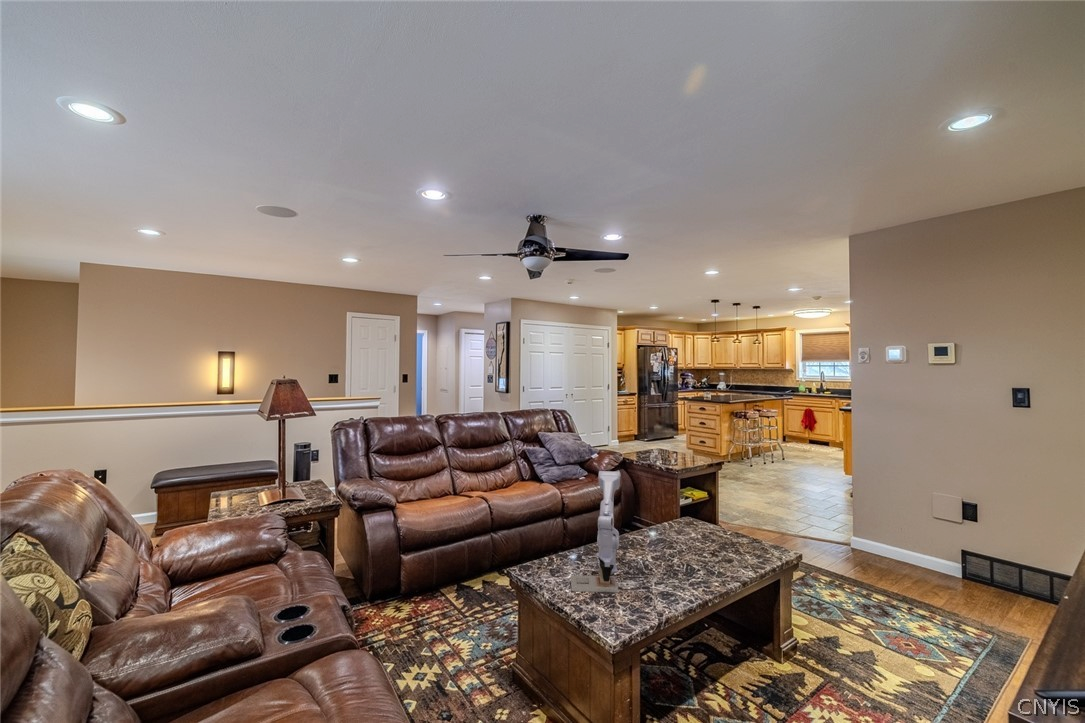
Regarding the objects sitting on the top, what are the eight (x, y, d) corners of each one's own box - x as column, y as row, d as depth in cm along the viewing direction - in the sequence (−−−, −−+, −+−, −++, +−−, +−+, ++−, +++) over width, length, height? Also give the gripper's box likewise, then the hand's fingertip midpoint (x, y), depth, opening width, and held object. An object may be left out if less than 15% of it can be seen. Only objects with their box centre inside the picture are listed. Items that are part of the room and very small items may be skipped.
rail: (570, 579, 194) (570, 574, 194) (614, 581, 194) (614, 575, 194) (571, 591, 184) (571, 585, 184) (618, 592, 184) (618, 587, 184)
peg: (599, 584, 191) (599, 565, 191) (608, 584, 191) (609, 565, 191) (600, 588, 187) (600, 569, 187) (609, 588, 187) (610, 569, 187)
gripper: (594, 537, 196) (594, 569, 196) (597, 550, 182) (597, 584, 182) (610, 538, 196) (610, 569, 196) (615, 551, 182) (614, 585, 181)
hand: (605, 576), depth 189 cm, fingers open, 7 cm apart
